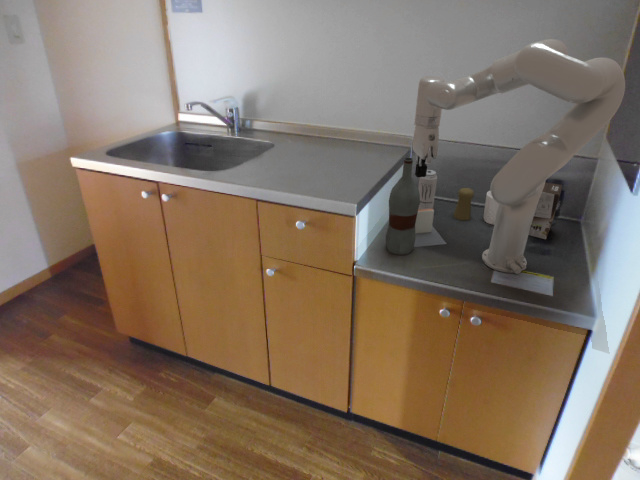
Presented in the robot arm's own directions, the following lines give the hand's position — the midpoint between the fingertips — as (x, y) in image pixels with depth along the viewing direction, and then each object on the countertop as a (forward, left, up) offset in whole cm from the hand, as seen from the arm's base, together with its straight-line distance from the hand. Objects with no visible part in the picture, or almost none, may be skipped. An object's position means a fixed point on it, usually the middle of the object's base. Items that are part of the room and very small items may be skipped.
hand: (420, 176), depth 144 cm
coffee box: (-11, -40, -19) cm, 45 cm away
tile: (-5, 0, -18) cm, 19 cm away
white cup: (-1, -29, -19) cm, 34 cm away
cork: (+3, -19, -19) cm, 27 cm away
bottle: (-14, +10, -19) cm, 25 cm away
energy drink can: (+11, -8, -19) cm, 23 cm away
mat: (-7, 0, -18) cm, 20 cm away
